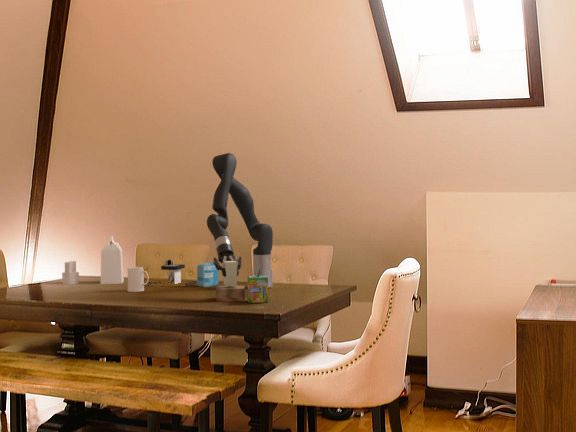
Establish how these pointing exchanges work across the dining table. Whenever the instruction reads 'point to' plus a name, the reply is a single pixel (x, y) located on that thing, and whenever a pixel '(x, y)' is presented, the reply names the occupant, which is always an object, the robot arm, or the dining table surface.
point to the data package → (207, 275)
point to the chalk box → (257, 289)
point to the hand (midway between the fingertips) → (231, 275)
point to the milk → (112, 263)
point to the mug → (136, 279)
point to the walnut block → (230, 293)
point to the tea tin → (230, 273)
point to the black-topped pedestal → (174, 272)
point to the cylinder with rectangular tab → (70, 273)
